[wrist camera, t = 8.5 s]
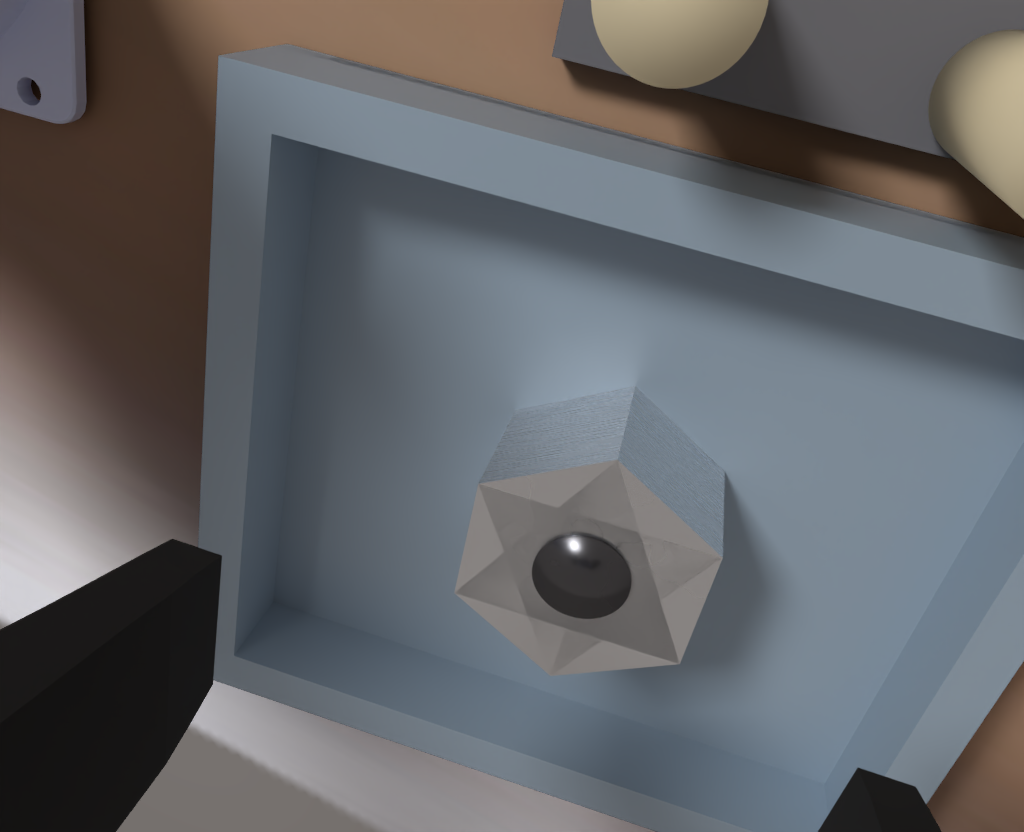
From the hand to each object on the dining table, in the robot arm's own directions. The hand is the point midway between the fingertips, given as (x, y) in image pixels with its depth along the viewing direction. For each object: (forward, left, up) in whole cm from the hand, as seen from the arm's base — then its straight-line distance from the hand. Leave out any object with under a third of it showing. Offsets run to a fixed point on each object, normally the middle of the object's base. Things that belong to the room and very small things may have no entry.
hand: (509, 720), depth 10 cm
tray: (+1, -2, -9) cm, 10 cm away
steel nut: (+1, -2, -9) cm, 9 cm away
